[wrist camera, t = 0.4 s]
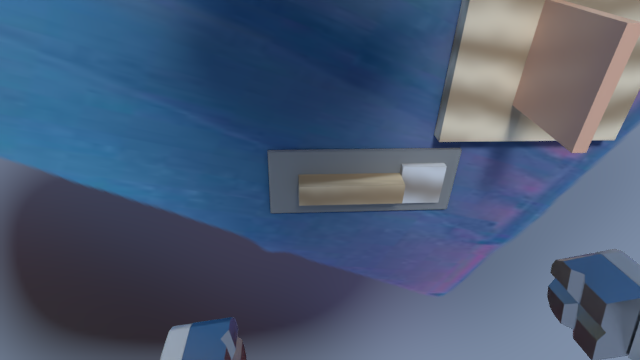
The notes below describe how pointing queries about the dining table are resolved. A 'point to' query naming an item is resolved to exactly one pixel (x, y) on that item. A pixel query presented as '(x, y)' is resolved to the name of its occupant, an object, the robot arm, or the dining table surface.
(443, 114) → the board
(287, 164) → the mat
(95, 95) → the dining table surface
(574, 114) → the tile
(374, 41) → the dining table surface
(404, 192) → the turner
